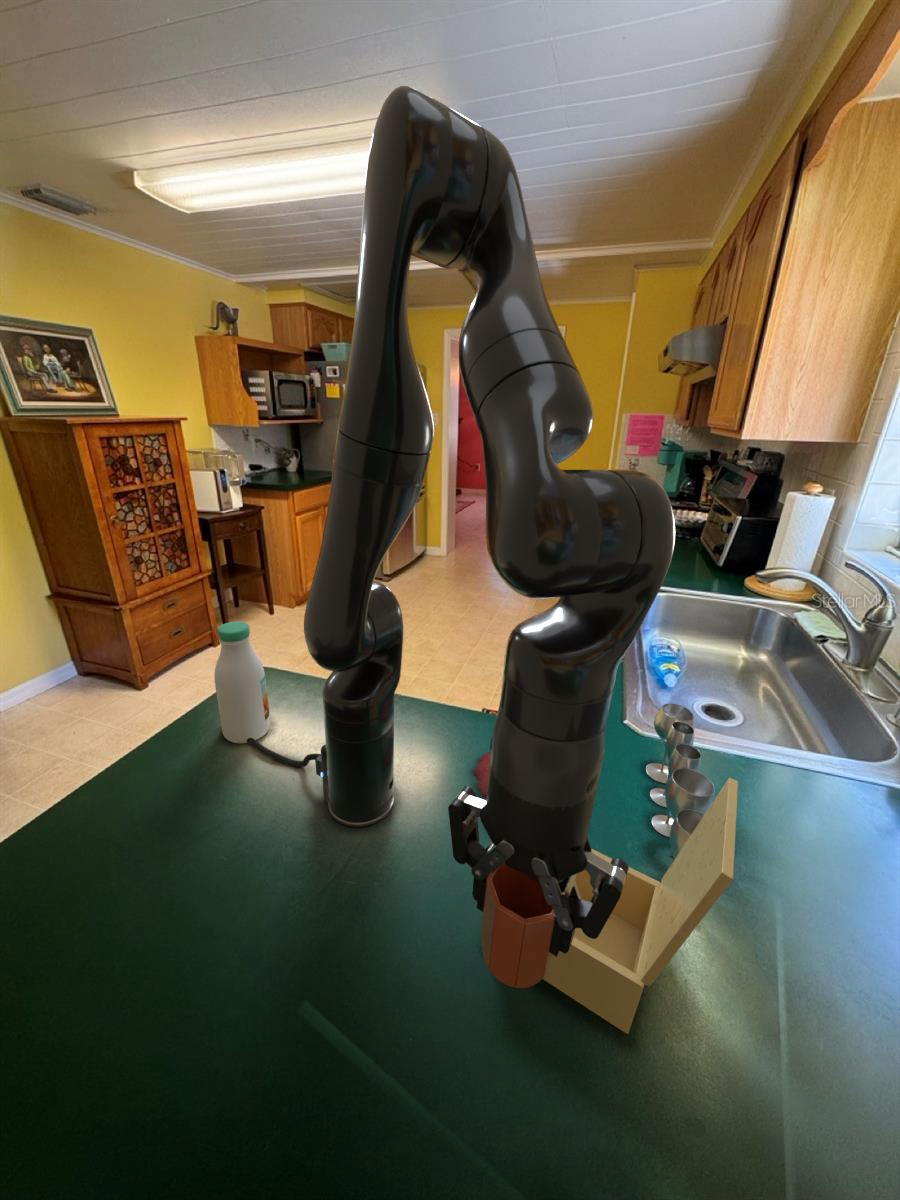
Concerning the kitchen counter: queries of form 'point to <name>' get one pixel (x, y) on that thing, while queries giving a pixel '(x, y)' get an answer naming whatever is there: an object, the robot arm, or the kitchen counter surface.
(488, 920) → the cup
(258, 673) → the milk bottle
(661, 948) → the wooden box lid
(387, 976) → the kitchen counter surface
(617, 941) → the wooden box base
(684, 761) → the goblet set
